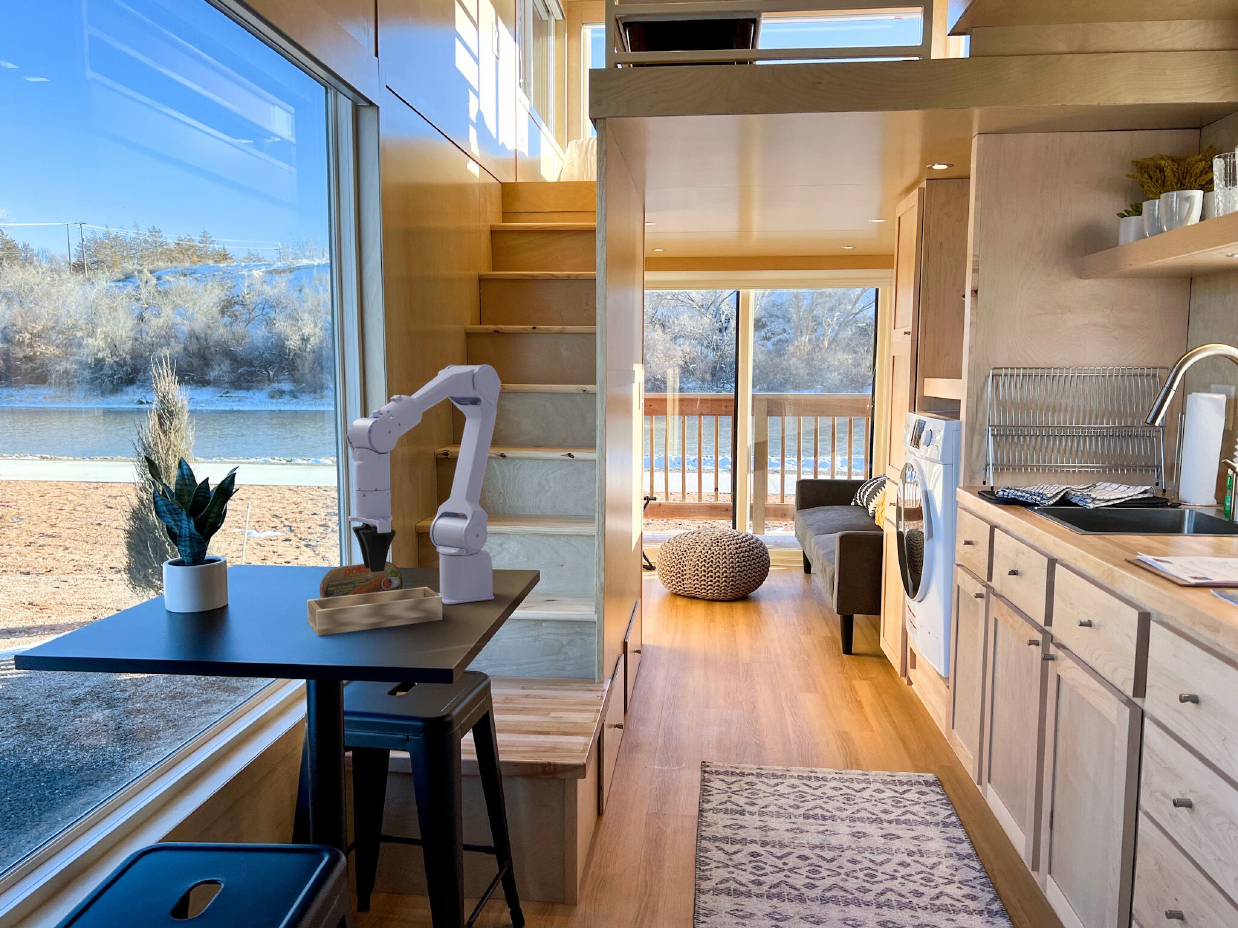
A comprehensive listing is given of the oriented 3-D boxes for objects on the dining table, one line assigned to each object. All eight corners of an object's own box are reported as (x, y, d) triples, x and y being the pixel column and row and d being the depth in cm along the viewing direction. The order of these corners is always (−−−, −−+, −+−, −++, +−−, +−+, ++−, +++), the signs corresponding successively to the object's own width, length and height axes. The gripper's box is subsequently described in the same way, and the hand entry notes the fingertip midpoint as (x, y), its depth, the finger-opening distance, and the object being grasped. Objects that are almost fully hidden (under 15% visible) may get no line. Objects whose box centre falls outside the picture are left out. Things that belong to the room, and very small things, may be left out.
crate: (427, 608, 161) (426, 586, 160) (442, 619, 153) (442, 596, 153) (307, 623, 151) (307, 599, 150) (317, 635, 143) (317, 611, 143)
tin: (325, 617, 154) (324, 569, 154) (317, 614, 157) (316, 566, 156) (404, 603, 164) (403, 558, 164) (395, 600, 167) (395, 556, 166)
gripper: (339, 486, 154) (340, 563, 155) (358, 495, 142) (360, 579, 143) (380, 484, 158) (381, 560, 159) (403, 492, 145) (404, 575, 146)
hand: (374, 569), depth 151 cm, fingers open, 3 cm apart
